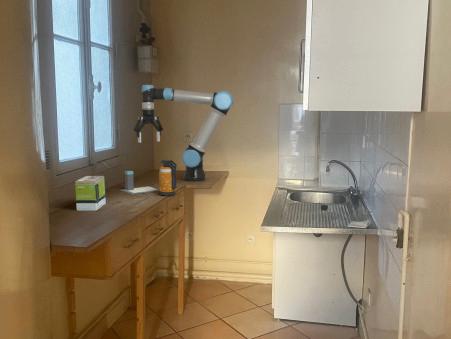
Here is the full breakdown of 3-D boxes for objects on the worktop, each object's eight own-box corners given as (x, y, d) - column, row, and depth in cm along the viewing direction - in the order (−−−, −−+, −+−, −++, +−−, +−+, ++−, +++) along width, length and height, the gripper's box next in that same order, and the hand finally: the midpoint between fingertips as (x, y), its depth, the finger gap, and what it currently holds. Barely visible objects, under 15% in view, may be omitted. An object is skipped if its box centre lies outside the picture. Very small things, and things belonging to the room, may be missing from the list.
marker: (131, 189, 263) (130, 170, 261) (133, 189, 260) (133, 171, 258) (125, 189, 260) (124, 171, 259) (128, 190, 258) (127, 172, 256)
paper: (149, 186, 274) (149, 185, 274) (162, 190, 261) (162, 189, 261) (119, 190, 262) (119, 189, 262) (131, 194, 249) (131, 193, 249)
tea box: (86, 203, 224) (85, 175, 222) (106, 204, 224) (105, 175, 222) (75, 210, 210) (74, 180, 208) (96, 210, 209) (95, 180, 207)
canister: (166, 192, 255) (166, 158, 252) (181, 194, 248) (180, 159, 245) (155, 195, 247) (155, 159, 245) (170, 197, 241) (169, 161, 238)
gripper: (133, 109, 273) (134, 143, 276) (167, 109, 288) (168, 141, 291) (127, 109, 279) (128, 142, 282) (162, 109, 294) (162, 140, 297)
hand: (149, 142), depth 286 cm, fingers open, 13 cm apart
